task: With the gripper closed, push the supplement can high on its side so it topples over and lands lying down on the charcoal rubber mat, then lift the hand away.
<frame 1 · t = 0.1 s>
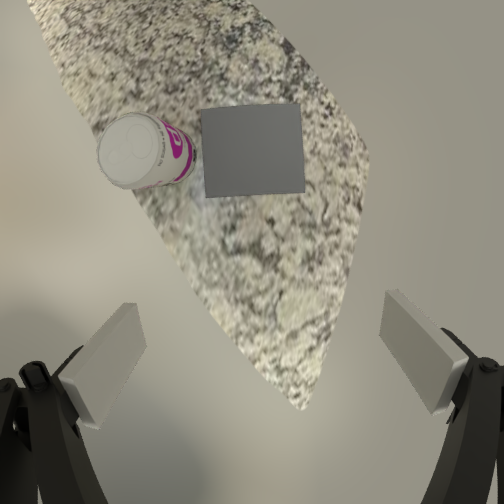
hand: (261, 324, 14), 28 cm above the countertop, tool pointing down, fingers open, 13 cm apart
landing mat: (252, 149, 38), on the countertop
supplement can: (170, 157, 39), on the countertop
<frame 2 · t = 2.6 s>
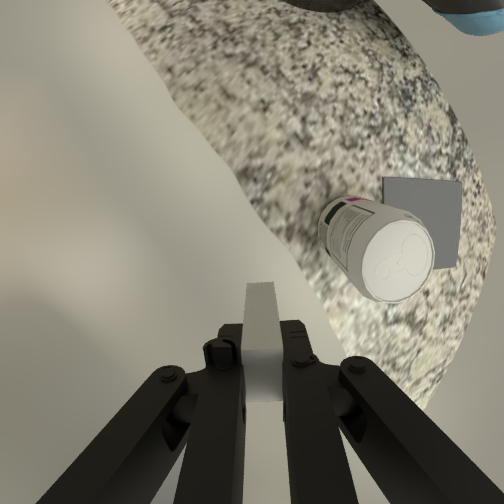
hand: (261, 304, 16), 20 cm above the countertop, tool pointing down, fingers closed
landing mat: (424, 225, 34), on the countertop
supplement can: (346, 227, 35), on the countertop
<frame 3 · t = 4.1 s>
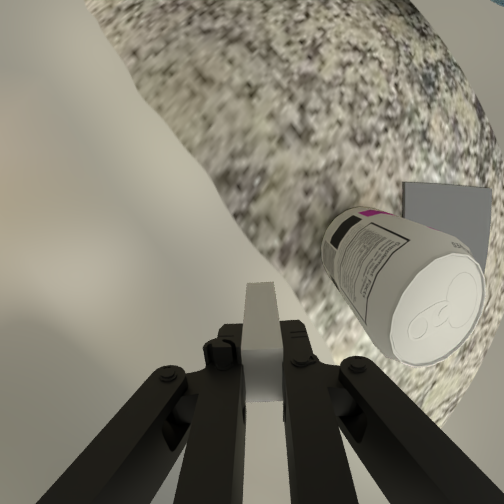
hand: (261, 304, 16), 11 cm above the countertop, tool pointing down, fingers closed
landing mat: (449, 241, 26), on the countertop
supplement can: (358, 246, 27), on the countertop
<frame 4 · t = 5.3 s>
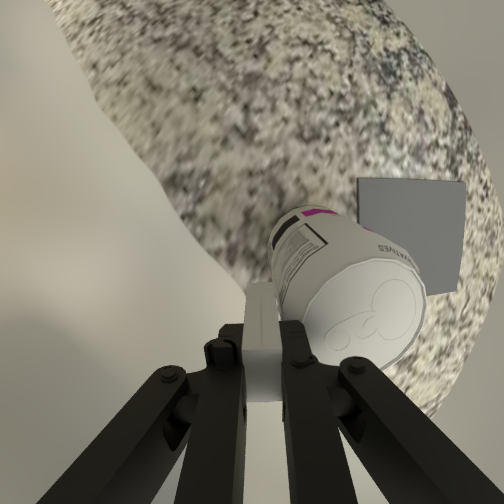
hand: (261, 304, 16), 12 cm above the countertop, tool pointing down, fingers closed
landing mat: (415, 240, 27), on the countertop
supplement can: (308, 246, 27), on the countertop, touching gripper
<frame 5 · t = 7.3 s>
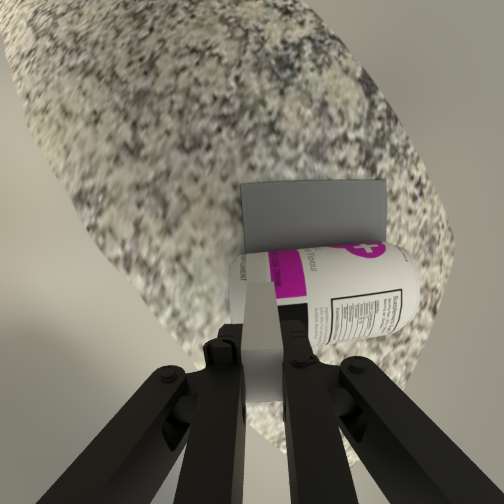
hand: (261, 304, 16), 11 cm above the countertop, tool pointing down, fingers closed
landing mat: (318, 248, 27), on the countertop
supplement can: (232, 304, 24), point 5 cm above the countertop, touching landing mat
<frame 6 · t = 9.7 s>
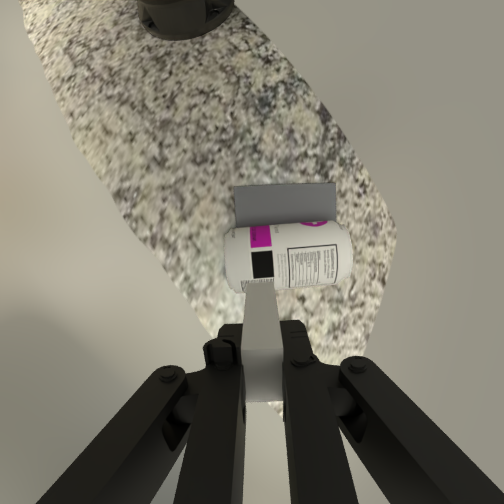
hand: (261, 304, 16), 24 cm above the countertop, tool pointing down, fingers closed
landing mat: (287, 230, 40), on the countertop
supplement can: (226, 261, 36), point 5 cm above the countertop, touching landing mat
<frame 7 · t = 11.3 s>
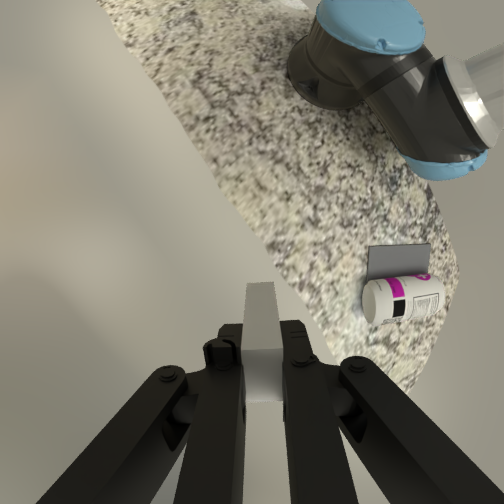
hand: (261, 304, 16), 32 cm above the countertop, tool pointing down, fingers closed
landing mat: (398, 277, 50), on the countertop
supplement can: (367, 304, 46), point 5 cm above the countertop, touching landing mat
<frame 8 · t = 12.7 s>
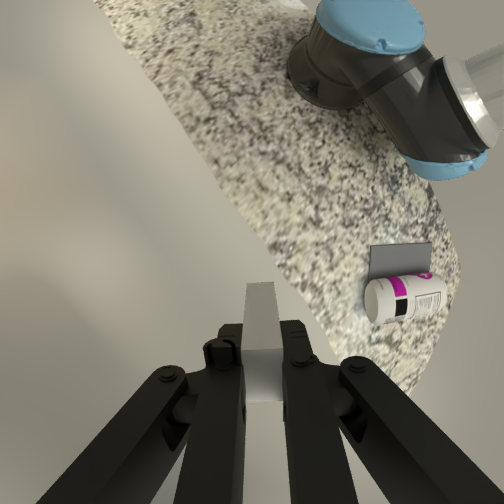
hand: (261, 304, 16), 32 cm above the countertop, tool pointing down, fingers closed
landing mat: (399, 276, 50), on the countertop
supplement can: (369, 303, 46), point 5 cm above the countertop, touching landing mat
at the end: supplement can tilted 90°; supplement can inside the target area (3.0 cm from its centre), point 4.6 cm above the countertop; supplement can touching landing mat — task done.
